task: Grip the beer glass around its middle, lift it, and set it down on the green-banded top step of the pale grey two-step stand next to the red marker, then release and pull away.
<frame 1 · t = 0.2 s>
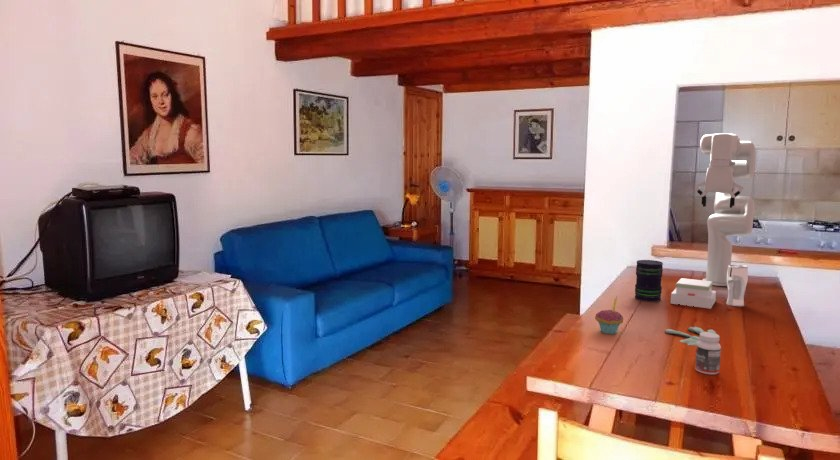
hand: (717, 207, 227), 36 cm above the table, tool pointing down, fingers open, 9 cm apart
step stand: (693, 302, 219), on the table
cupcake: (608, 332, 181), on the table
green flat branched shape: (692, 337, 178), on the table
storage jar: (647, 299, 224), on the table
pill bottle: (706, 371, 147), on the table
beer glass: (735, 305, 215), on the table
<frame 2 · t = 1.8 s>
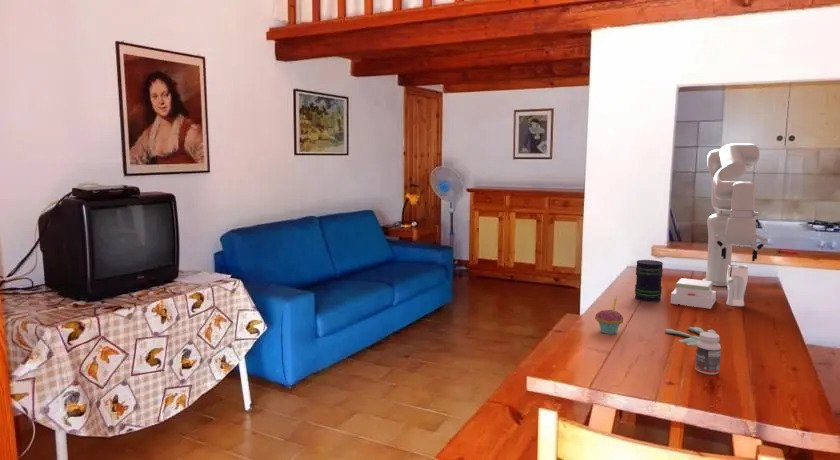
hand: (738, 259, 212), 18 cm above the table, tool pointing down, fingers open, 9 cm apart
nothing on the table moved.
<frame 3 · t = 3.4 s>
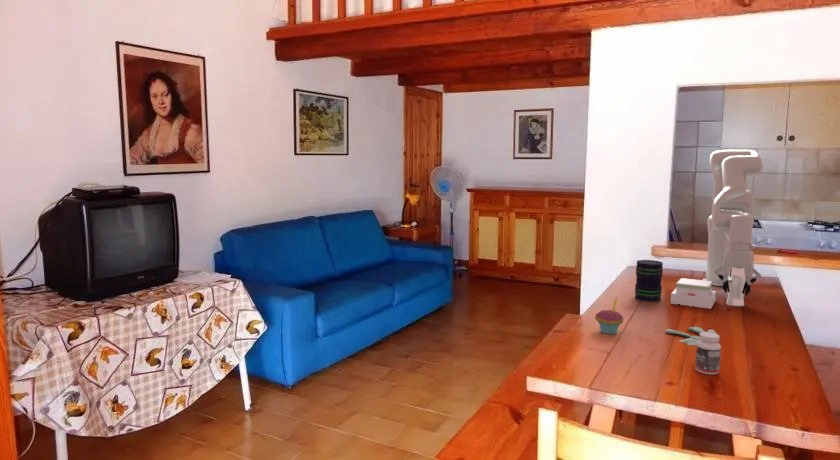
hand: (736, 292, 214), 5 cm above the table, tool pointing down, fingers closed on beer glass, 6 cm apart
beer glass: (735, 305, 215), on the table, touching gripper
everything else where it was.
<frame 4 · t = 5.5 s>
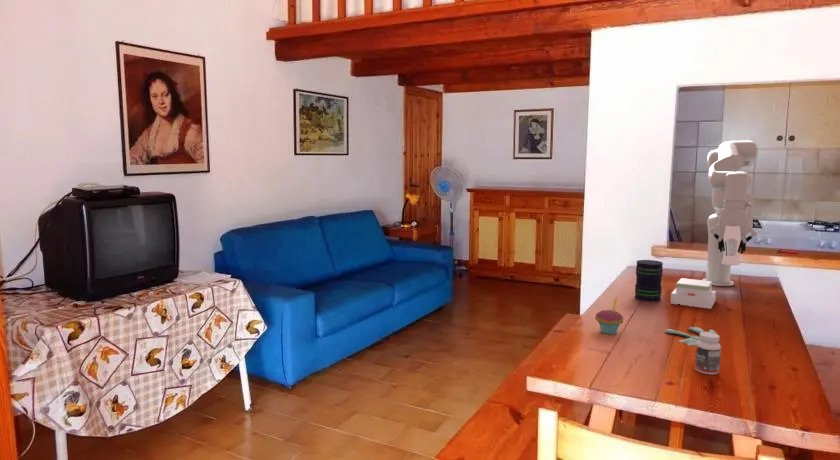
hand: (731, 251, 213), 20 cm above the table, tool pointing down, fingers closed on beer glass, 6 cm apart
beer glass: (730, 264, 214), point 16 cm above the table, touching gripper
everything else where it was.
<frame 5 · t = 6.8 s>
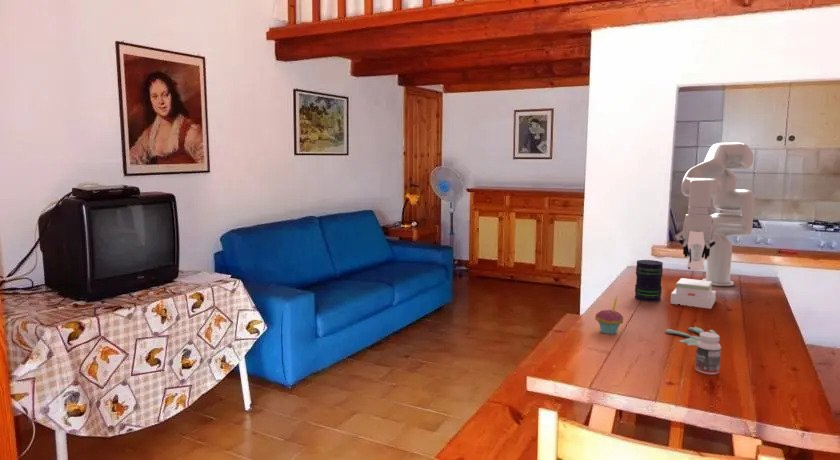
hand: (695, 257, 216), 18 cm above the table, tool pointing down, fingers closed on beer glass, 6 cm apart
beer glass: (695, 269, 217), point 13 cm above the table, touching gripper
everything else where it was.
when the fingers open (14 cm above the table, at t = 7.9 s): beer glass drops 1 cm, resting on step stand.
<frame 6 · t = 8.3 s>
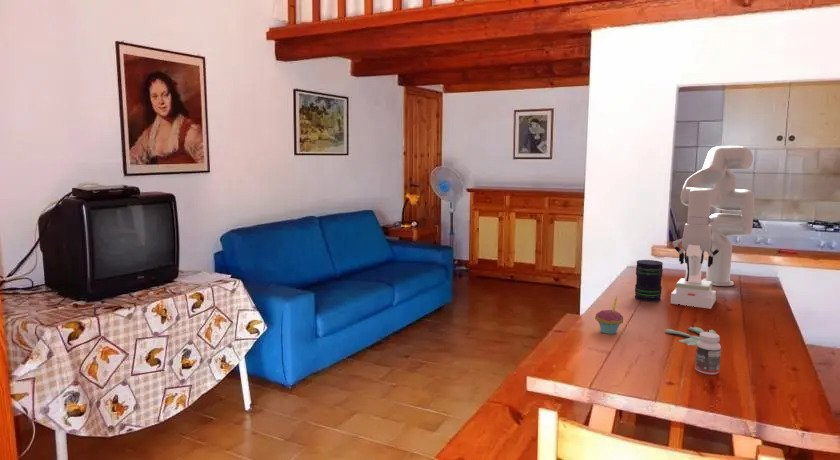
hand: (695, 265, 217), 15 cm above the table, tool pointing down, fingers open, 9 cm apart
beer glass: (692, 282, 218), point 8 cm above the table, touching step stand
everything else where it was.
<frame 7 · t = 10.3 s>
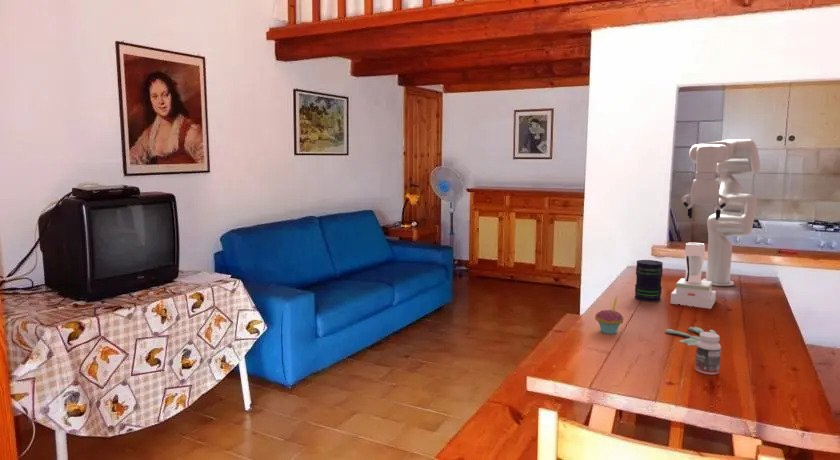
hand: (703, 218, 227), 32 cm above the table, tool pointing down, fingers open, 9 cm apart
nothing on the table moved.
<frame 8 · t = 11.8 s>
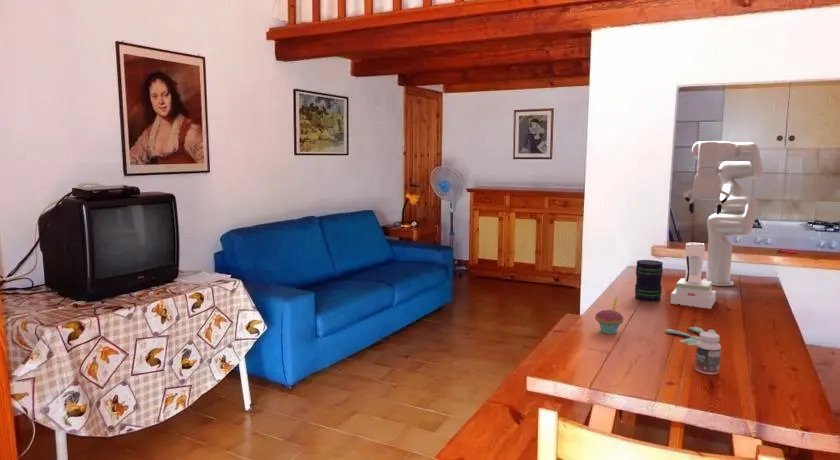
hand: (704, 213, 229), 33 cm above the table, tool pointing down, fingers open, 9 cm apart
nothing on the table moved.
at the end: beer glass inside the target area on the step stand (0.7 cm from its centre), point 7.8 cm above the step stand's base; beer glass tilted 0°; the gripper is holding nothing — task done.
